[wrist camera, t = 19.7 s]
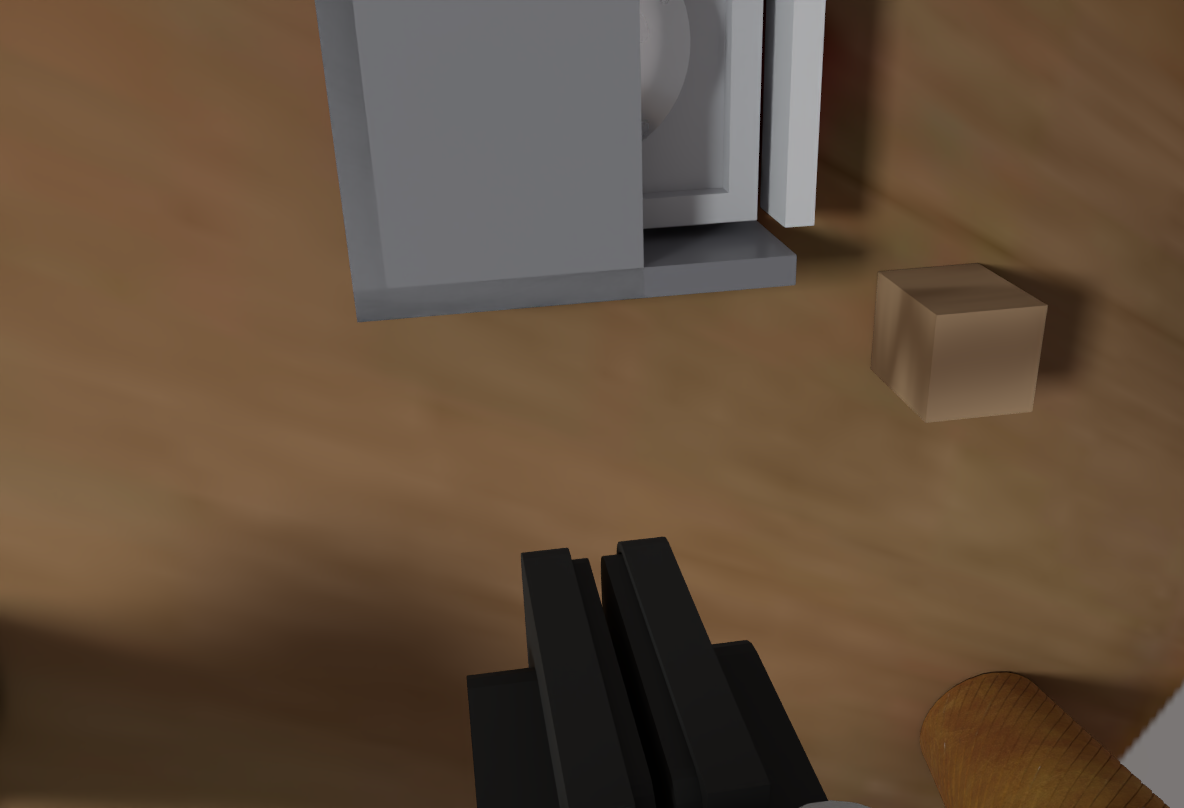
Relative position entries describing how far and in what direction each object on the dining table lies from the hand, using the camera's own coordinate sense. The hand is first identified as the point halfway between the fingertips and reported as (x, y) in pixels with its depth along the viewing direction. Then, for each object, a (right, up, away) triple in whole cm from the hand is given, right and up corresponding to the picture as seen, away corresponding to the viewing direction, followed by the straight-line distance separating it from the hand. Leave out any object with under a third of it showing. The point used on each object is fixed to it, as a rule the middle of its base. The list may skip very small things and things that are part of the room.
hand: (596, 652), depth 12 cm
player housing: (-1, +15, +23) cm, 28 cm away
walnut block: (+13, +6, +29) cm, 33 cm away
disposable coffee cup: (+18, -12, +39) cm, 45 cm away
